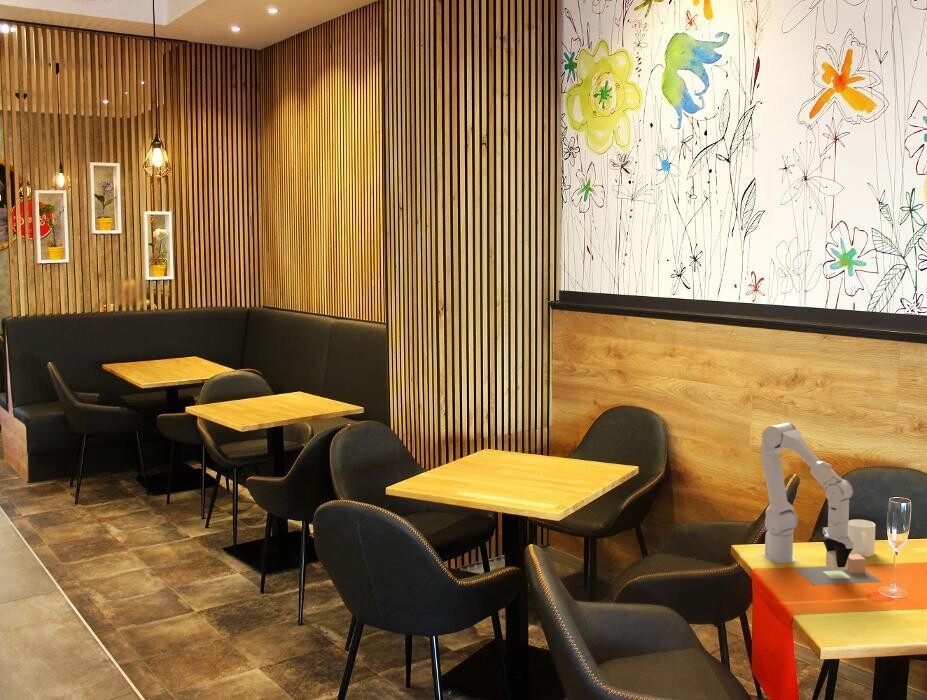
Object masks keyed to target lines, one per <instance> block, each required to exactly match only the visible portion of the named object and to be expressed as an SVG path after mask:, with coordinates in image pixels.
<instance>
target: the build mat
mask: <svg viewBox="0 0 927 700" xmlns="http://www.w3.org/2000/svg"><path fill="white" fill-rule="evenodd" d="M792 569H793V570H794V571H796V572H797V573H798V574H799V575H801V576H802V577H803V578H804V579H806V580H807V581H808V582H809V583H810V584H812V585H813V586H815V585H816V586H818V585H819V586H822V585H823V586H824V585H842V584H843V585H845V584H864V583H881V582H882V581H881V580H880V579H879V578H877V577H876V576H874V574H871V573H870V572H869V571H868V570H866V569H865V573H857V574H851V573H849V572H848V571H847V570H834V571H833V570H832V569H831V568H829V567H828V566H815V567H814V566H813V567H811V566H810V567H794V568H792Z"/></svg>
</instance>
